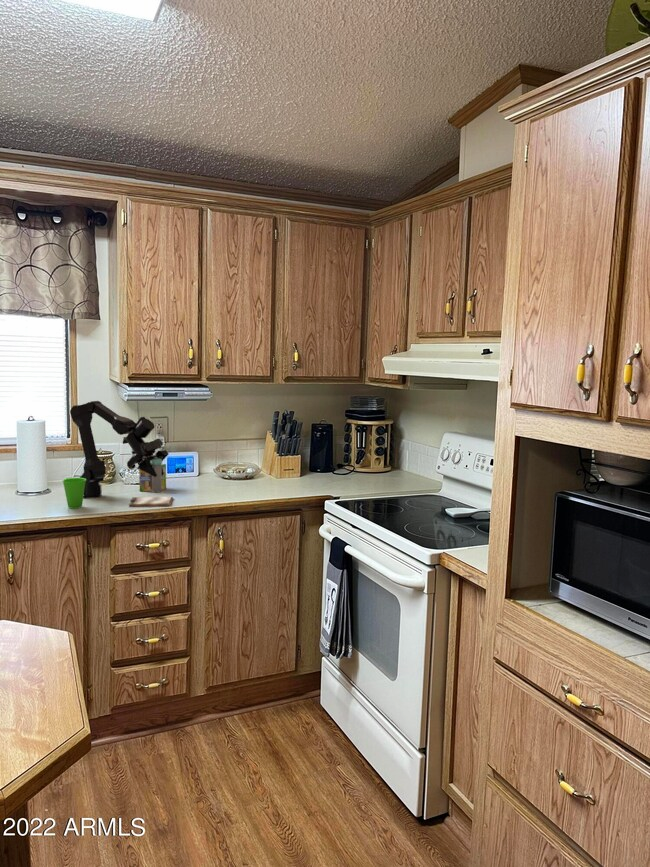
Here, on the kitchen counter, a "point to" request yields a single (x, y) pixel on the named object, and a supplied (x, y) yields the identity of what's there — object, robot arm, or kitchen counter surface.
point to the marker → (158, 479)
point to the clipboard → (150, 501)
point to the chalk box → (150, 480)
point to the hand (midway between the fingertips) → (159, 475)
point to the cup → (74, 491)
